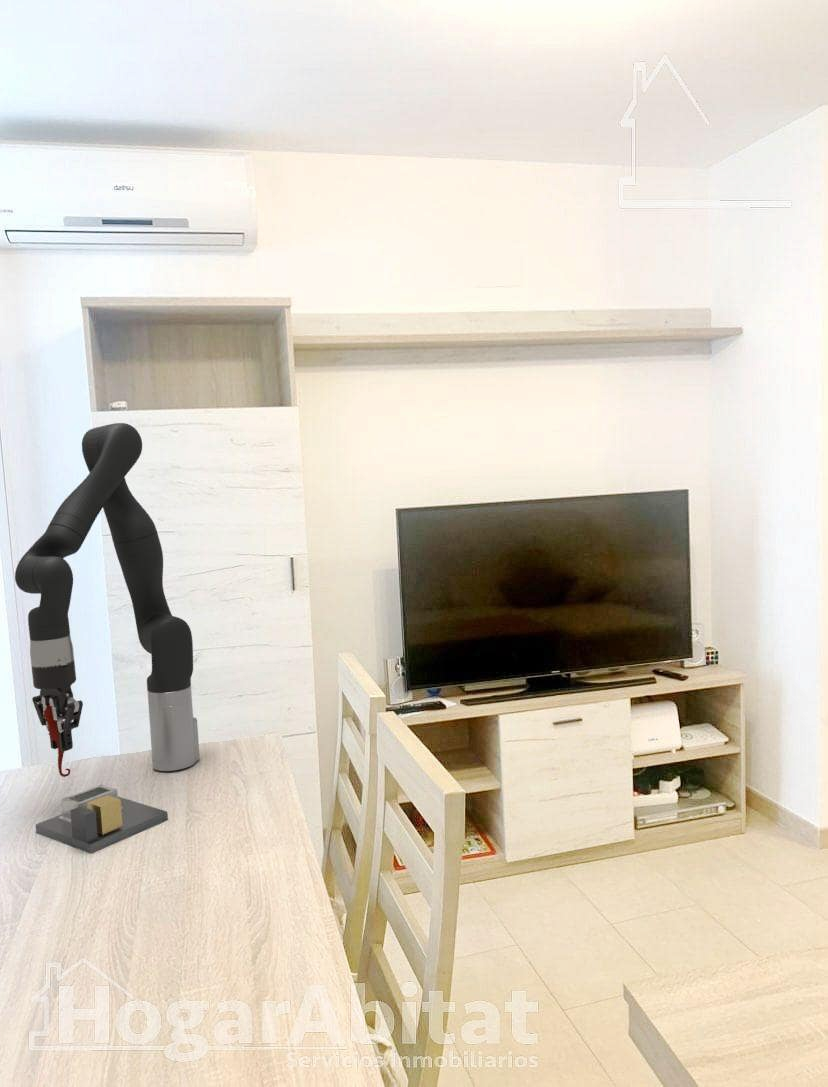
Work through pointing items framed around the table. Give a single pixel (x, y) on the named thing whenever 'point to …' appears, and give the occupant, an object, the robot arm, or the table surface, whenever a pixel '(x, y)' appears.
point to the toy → (55, 736)
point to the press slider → (107, 813)
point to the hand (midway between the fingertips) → (62, 748)
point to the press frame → (82, 827)
